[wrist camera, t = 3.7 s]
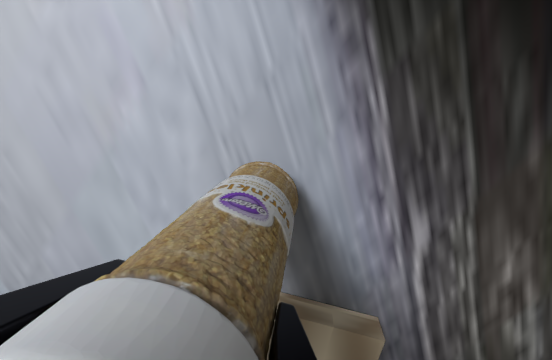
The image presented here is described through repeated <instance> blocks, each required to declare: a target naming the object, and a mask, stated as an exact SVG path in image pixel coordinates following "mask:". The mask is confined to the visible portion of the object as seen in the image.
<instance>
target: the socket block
mask: <svg viewBox="0 0 552 360" xmlns="http://www.w3.org/2000/svg"><path fill="white" fill-rule="evenodd" d="M280 302H284V303H288V304H292V305H293V306H294V307H295V309H296V311H297V314H298V316H299V318H300V321H301V323H302V325H303V328H304V330H305V332H306V335H307V337H308V339H309V342H310V344H311V346H312V349H313V351H314V353H315V355H316V358H317V360H378V359H379V356H380V354H381V351H382V349H383V346H384V344H385V338H384V335H383V332H382V329H381V326H380V323H379V320H378V317H374V316H370V315H367V314H363V313H359V312H355V311H351V310H347V309H344V308H340V307H336V306H332V305H328V304H324V303H321V302H317V301H313V300H309V299H305V298H301V297H298V296H294V295H290V294H286V293H282V292H280V298H279V302H278V305H279V303H280ZM278 305H277V309H278ZM276 313H277V312H276ZM274 321H275V320H274ZM270 340H271V339H270ZM267 355H268V354H267Z"/></svg>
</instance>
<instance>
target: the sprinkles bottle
mask: <svg viewBox="0 0 552 360" xmlns="http://www.w3.org/2000/svg"><path fill="white" fill-rule="evenodd" d="M297 208H298V194H297V189H296V185H295V184H294V182H293V180H292V178H291V177H290V176H289V175H288V174H287V173H286V172H284V171H283V169H281V168H279V167H278V166H277V165H274V164H272V163H270V162H252V163H248V164H245V165H242V166H241V167H239V168H238V169H237V170H235V171H234V172H233V173H232V174H231V176H230V177H229V178H228V179H226V180H224V181H222V182H221V183H220V184H218V185H217V186H216V187H214V188H213V189H212V190H210V191H209V192H208V193H207V194H205V195H204V196H203V197H201V198H200V199H199V200H197V201H196V202H195V203H194V204H193V205H191V206H190V207H189V208H188V209H187V210H186V212H185V213H183V214H182V215H181V216H180V217H178V218H177V219H176V220H175V221H174V222H172V223H171V224H170V225H169V226H168V227H167V228H165V229H163V230H162V231H161V232H160V233H159V234H158V235H156V236H155V237H154V239H152V240H151V241H150V242H148V243H147V244H146V245H145V246H144V247H142V248H141V249H140V250H138V251H137V252H136V253H135V254H134V255H133V256H131V257H129V258H128V259H127V260H126V261H125V262H124V263H122V264H121V265H120V266H119V267H118V268H117V269H115V270H114V271H112V272H111V273H110V274H107V275H103V276H101V277H99V278H98V279H97V280H95V281H94V282H91V283H89V284H86V285H84V286H81V287H79V288H77V289H76V290H74V291H72V292H71V293H69V294H68V295H66V296H65V297H64V298H62V299H61V300H60V301H58V302H57V303H56V304H54V305H53V306H52V307H50V308H49V309H48V310H47V311H45V312H44V313H43V314H41V315H40V316H39V317H37V318H36V319H35V320H33V321H32V322H31V323H29V324H28V325H27V326H25V327H24V328H23V329H21V330H20V331H19V332H17V333H16V334H15V335H13V336H12V337H11V338H10V339H8V340H7V341H6V342H4V343H3V344H2V345H1V346H0V360H267V354H268V351H269V346H270V339H271V336H272V333H273V327H274V320H275V317H276V312H277V305H278V302H279V298H280V292H281V288H282V281H283V276H284V270H285V264H286V260H287V257H288V255H289V250H290V245H291V239H292V233H293V226H294V215H295V213H296V211H297Z"/></svg>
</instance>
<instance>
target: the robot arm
mask: <svg viewBox="0 0 552 360" xmlns="http://www.w3.org/2000/svg"><path fill="white" fill-rule="evenodd" d="M124 262H125V261H124V260H119V259H117V260H114V261H110V262H107V263H104V264H101V265H97V266H94V267H91V268H88V269H84V270H81V271H78V272H74V273H71V274H68V275H65V276H61V277H58V278H55V279H52V280H48V281H45V282H42V283H39V284H35V285H32V286H29V287H26V288H22V289H19V290H16V291H12V292H9V293H6V294H3V295H0V346H1V345H2V344H3V343H4V342H6V341H7V340H8V339H10V338H11V337H12V336H13V335H15V334H16V333H17V332H19V331H20V330H21V329H23V328H24V327H25V326H27V325H28V324H29V323H31V322H32V321H33V320H35V319H36V318H37V317H39V316H40V315H41V314H43V313H44V312H45V311H47V310H48V309H49V308H50V307H52V306H53V305H54V304H56V303H57V302H58V301H60V300H61V299H62V298H64V297H65V296H66V295H68V294H69V293H71V292H72V291H74V290H76V289H77V288H79V287H81V286H84V285H86V284H89V283H91V282H94V281H95V280H97V279H98V278H99V277H101V276H103V275H107V274H110V273H111V272H112V271H114V270H115V269H117V268H118V267H119V266H120V265H121V264H122V263H124ZM267 360H317V358H316V355H315V353H314V351H313V349H312V346H311V344H310V342H309V339H308V337H307V335H306V332H305V330H304V328H303V325H302V323H301V321H300V318H299V316H298V314H297V311H296V309H295V307H294V306H293V305H292V304H288V303H284V302H280V303H279V305H278V309H277V313H276V317H275V321H274V327H273V333H272V336H271V340H270V346H269V351H268V355H267Z"/></svg>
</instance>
